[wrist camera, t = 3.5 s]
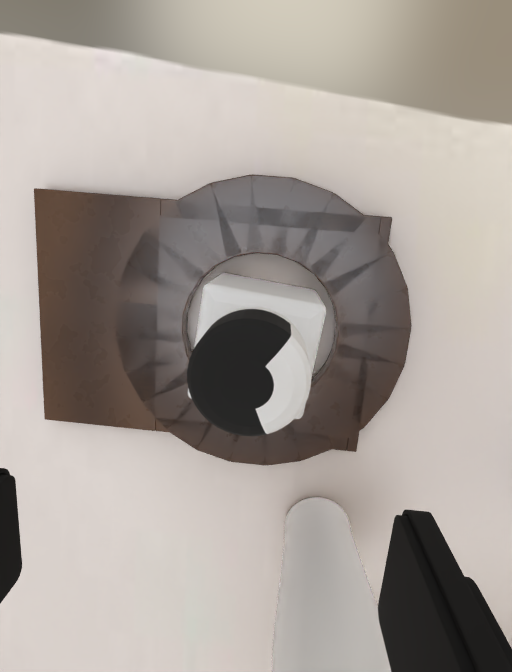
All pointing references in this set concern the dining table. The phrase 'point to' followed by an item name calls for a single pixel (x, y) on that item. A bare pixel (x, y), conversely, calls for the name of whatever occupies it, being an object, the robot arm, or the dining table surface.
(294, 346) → the medicine bottle
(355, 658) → the drinking glass
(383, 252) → the holder board
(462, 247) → the dining table surface
